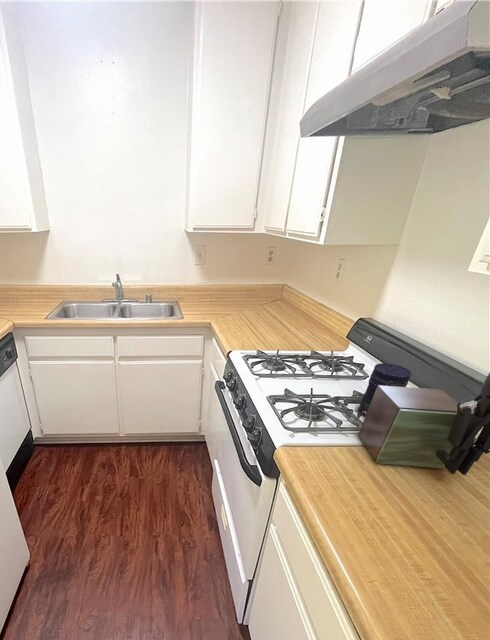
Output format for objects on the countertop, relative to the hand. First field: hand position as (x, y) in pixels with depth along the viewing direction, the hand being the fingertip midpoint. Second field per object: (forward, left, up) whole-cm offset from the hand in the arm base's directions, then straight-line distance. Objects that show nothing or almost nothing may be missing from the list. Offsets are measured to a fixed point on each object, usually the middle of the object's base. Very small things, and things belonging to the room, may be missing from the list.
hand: (454, 470), depth 79 cm
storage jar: (+33, -8, -5) cm, 34 cm away
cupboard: (+15, +1, -4) cm, 15 cm away
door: (+5, +4, -4) cm, 8 cm away
